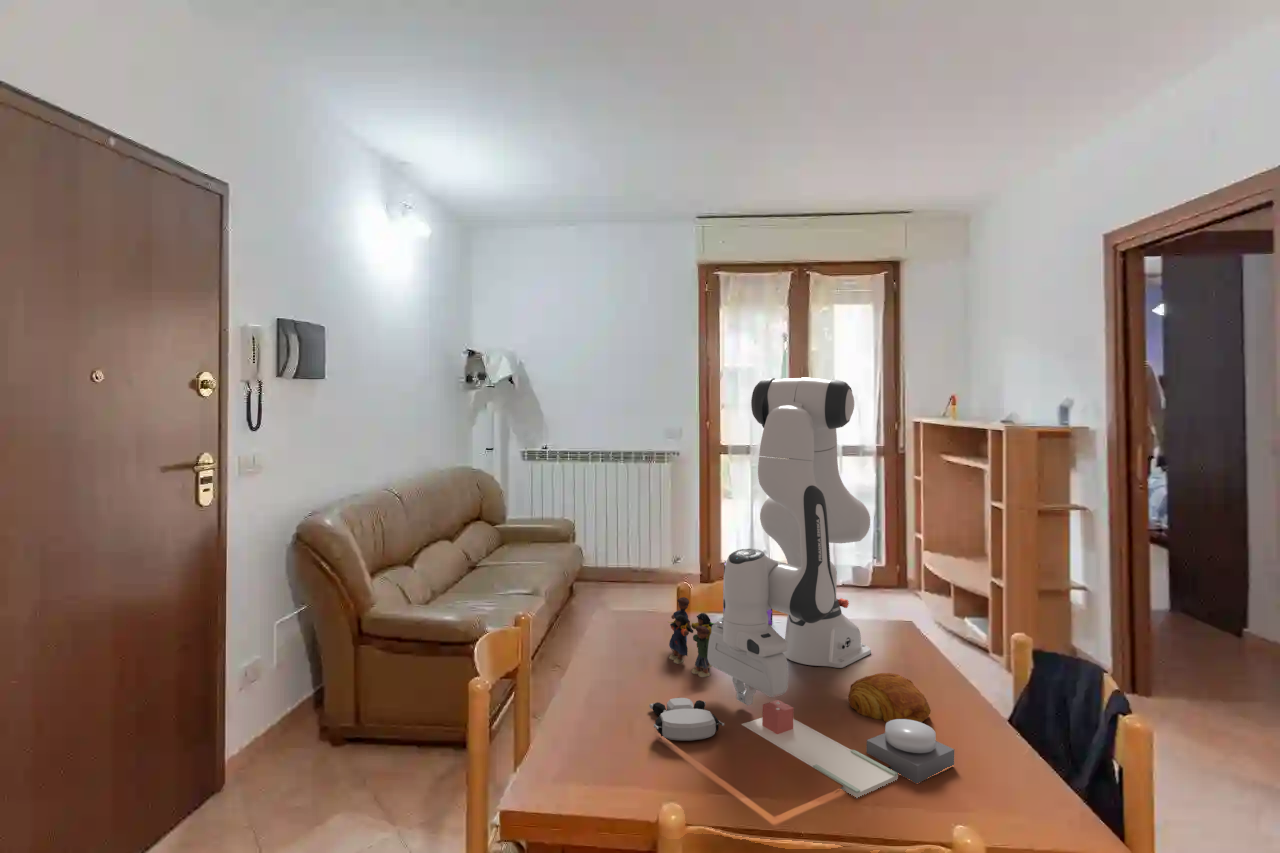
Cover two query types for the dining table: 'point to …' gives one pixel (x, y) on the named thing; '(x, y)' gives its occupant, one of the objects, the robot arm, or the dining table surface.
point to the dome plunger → (910, 736)
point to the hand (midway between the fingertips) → (744, 702)
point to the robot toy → (684, 720)
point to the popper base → (911, 759)
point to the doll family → (702, 637)
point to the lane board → (829, 757)
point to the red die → (777, 716)
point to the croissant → (888, 698)
